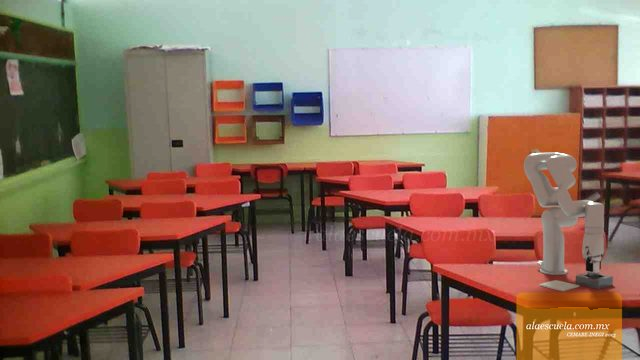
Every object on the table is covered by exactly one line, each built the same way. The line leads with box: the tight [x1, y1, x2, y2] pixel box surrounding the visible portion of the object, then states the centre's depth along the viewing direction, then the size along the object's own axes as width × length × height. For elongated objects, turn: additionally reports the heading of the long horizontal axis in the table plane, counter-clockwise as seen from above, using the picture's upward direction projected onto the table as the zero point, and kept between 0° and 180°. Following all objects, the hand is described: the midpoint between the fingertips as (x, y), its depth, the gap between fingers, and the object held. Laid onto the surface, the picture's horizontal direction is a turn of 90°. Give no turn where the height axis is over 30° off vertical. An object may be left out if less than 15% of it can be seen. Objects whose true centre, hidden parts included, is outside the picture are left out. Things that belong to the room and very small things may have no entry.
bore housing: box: [575, 272, 614, 290], centre depth 268 cm, size 11×11×4 cm
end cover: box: [586, 254, 602, 279], centre depth 267 cm, size 6×6×10 cm
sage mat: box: [538, 279, 580, 292], centre depth 267 cm, size 12×12×1 cm
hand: (593, 269), depth 267 cm, fingers closed on end cover, 5 cm apart
